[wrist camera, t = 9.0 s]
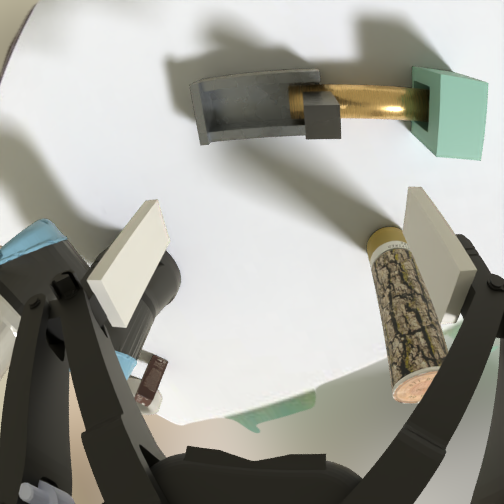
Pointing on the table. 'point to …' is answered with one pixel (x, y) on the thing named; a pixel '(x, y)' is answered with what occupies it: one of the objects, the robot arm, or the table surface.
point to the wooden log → (405, 316)
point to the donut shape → (154, 405)
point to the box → (150, 381)
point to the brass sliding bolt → (354, 105)
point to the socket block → (452, 113)
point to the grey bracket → (248, 105)
